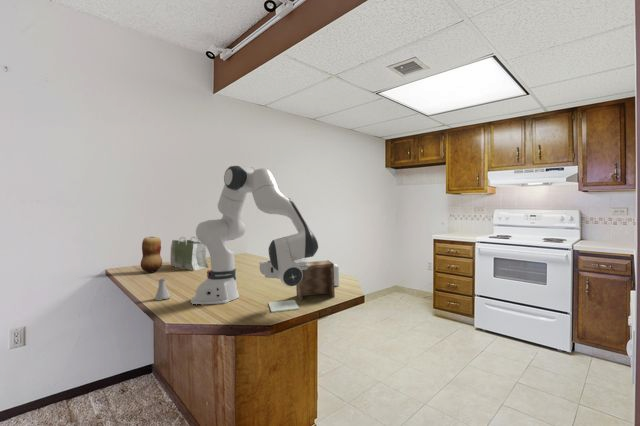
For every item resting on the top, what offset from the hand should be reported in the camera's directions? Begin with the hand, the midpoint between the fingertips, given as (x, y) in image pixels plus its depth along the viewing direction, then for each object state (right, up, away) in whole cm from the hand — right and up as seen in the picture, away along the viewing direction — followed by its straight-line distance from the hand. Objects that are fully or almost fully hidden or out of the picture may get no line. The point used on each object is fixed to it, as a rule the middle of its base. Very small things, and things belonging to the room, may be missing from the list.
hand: (281, 262), depth 140 cm
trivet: (+1, -20, 0) cm, 20 cm away
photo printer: (+23, -18, +31) cm, 43 cm away
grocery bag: (-81, -19, +97) cm, 127 cm away
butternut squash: (-102, -20, +83) cm, 132 cm away
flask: (-62, -21, +18) cm, 68 cm away
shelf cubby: (+15, -19, +13) cm, 27 cm away
